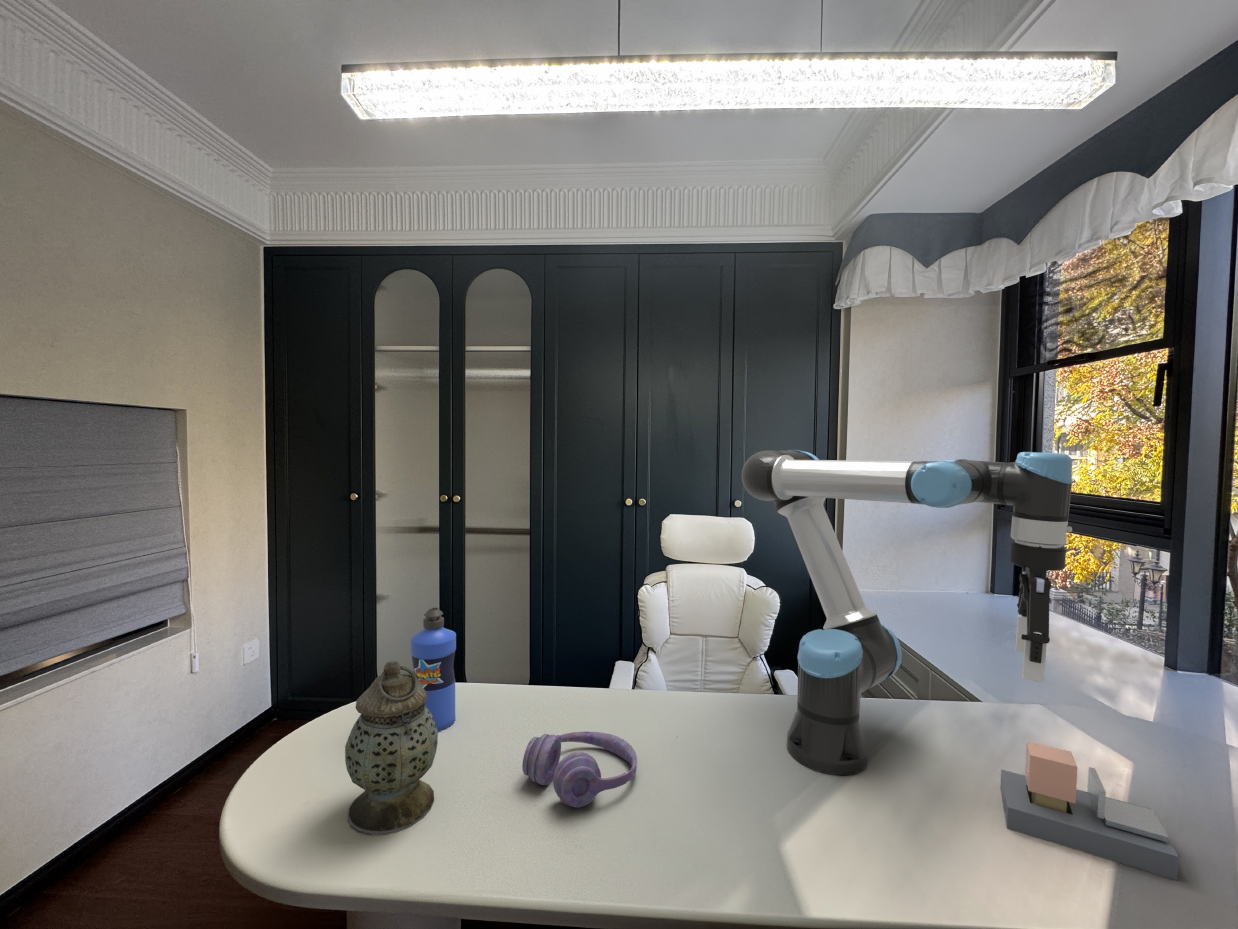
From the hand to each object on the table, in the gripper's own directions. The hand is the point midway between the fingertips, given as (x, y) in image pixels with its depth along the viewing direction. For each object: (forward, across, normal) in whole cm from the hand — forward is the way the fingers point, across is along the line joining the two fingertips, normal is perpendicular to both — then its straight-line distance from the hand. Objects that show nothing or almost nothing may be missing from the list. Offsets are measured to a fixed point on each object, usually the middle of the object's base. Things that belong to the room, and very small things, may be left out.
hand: (1028, 665), depth 94 cm
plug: (+24, -3, -4) cm, 24 cm away
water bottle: (+26, -39, +106) cm, 116 cm away
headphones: (+26, -36, +67) cm, 81 cm away
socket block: (+24, -3, -8) cm, 25 cm away
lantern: (+26, -61, +89) cm, 111 cm away
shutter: (+20, -3, -13) cm, 24 cm away
